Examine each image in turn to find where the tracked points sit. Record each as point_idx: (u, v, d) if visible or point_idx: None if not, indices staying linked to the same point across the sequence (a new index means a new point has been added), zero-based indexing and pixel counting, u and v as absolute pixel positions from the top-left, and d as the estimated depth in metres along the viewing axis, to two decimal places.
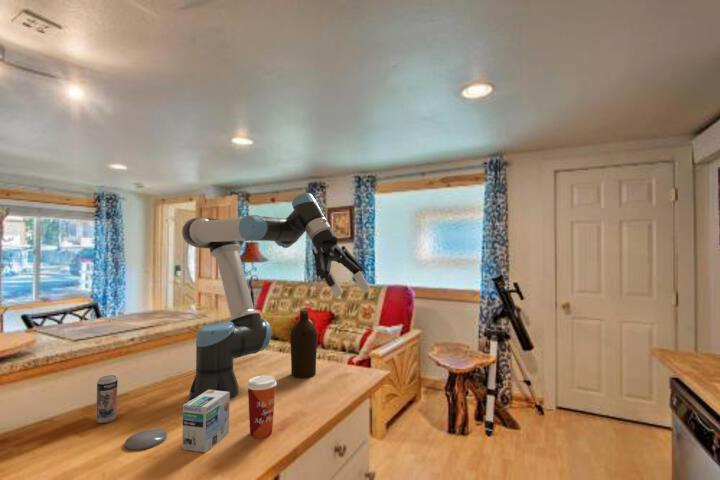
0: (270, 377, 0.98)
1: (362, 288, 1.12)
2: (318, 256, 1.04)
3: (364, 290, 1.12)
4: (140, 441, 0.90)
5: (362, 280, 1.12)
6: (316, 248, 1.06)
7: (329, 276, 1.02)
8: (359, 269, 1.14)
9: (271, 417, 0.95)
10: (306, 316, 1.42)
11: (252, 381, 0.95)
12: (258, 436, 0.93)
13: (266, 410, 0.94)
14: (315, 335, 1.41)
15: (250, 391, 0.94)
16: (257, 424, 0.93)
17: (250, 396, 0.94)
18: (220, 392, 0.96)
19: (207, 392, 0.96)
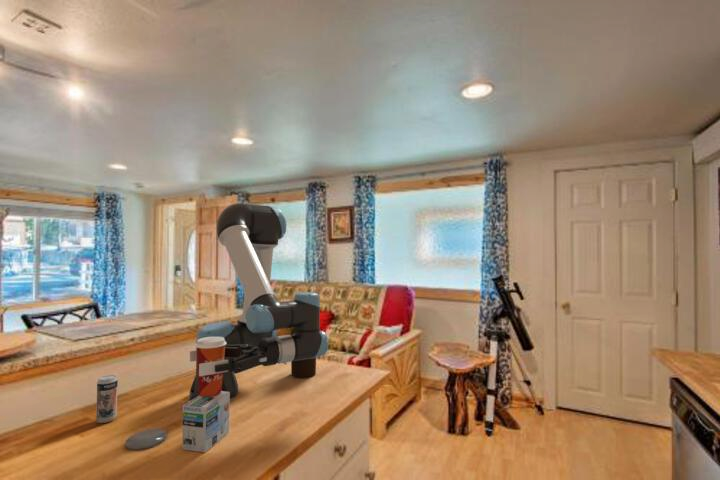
0: (220, 337, 0.98)
1: (195, 353, 0.97)
2: (254, 364, 0.92)
3: (192, 354, 0.97)
4: (140, 441, 0.90)
5: None
6: (263, 362, 0.94)
7: None
8: None
9: (220, 376, 0.95)
10: None
11: (201, 340, 0.95)
12: (205, 395, 0.93)
13: None
14: None
15: (198, 350, 0.93)
16: (204, 382, 0.93)
17: (198, 355, 0.93)
18: None
19: None
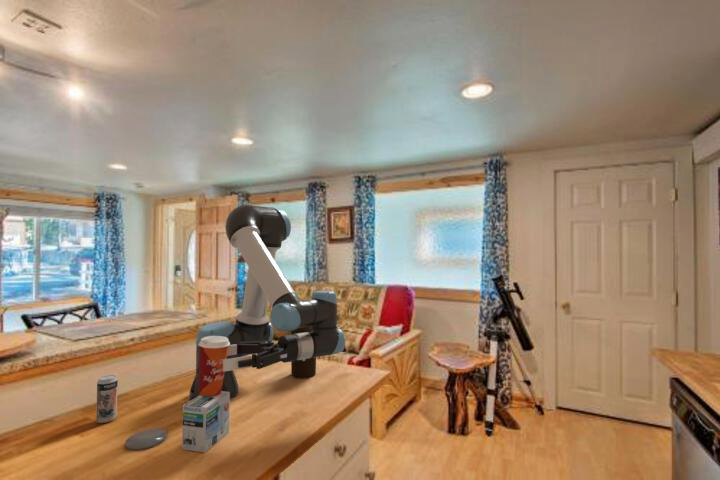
0: (224, 337, 0.97)
1: None
2: (275, 360, 0.94)
3: None
4: (140, 441, 0.90)
5: None
6: (284, 358, 0.96)
7: None
8: (238, 352, 1.04)
9: (221, 377, 0.95)
10: None
11: (204, 339, 0.94)
12: (206, 394, 0.93)
13: (216, 369, 0.93)
14: None
15: (201, 349, 0.93)
16: (205, 382, 0.93)
17: (201, 354, 0.93)
18: None
19: None
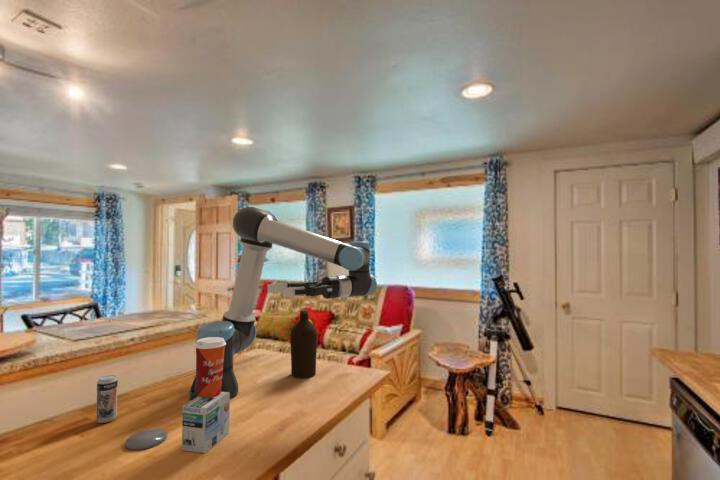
0: (220, 338, 0.97)
1: (272, 286, 1.18)
2: (323, 292, 1.13)
3: (269, 287, 1.18)
4: (140, 441, 0.90)
5: (278, 290, 1.19)
6: (330, 291, 1.15)
7: (303, 294, 1.09)
8: None
9: (219, 377, 0.94)
10: (306, 316, 1.42)
11: (200, 341, 0.94)
12: (205, 395, 0.92)
13: (213, 369, 0.93)
14: (315, 335, 1.41)
15: (197, 351, 0.93)
16: (203, 383, 0.92)
17: (197, 355, 0.93)
18: (220, 393, 0.96)
19: None
